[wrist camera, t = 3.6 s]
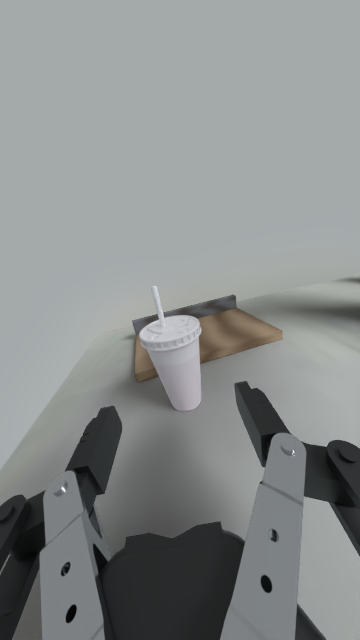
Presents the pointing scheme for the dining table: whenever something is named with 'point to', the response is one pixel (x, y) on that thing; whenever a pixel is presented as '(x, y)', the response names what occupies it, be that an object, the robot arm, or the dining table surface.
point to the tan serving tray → (211, 332)
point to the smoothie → (175, 355)
